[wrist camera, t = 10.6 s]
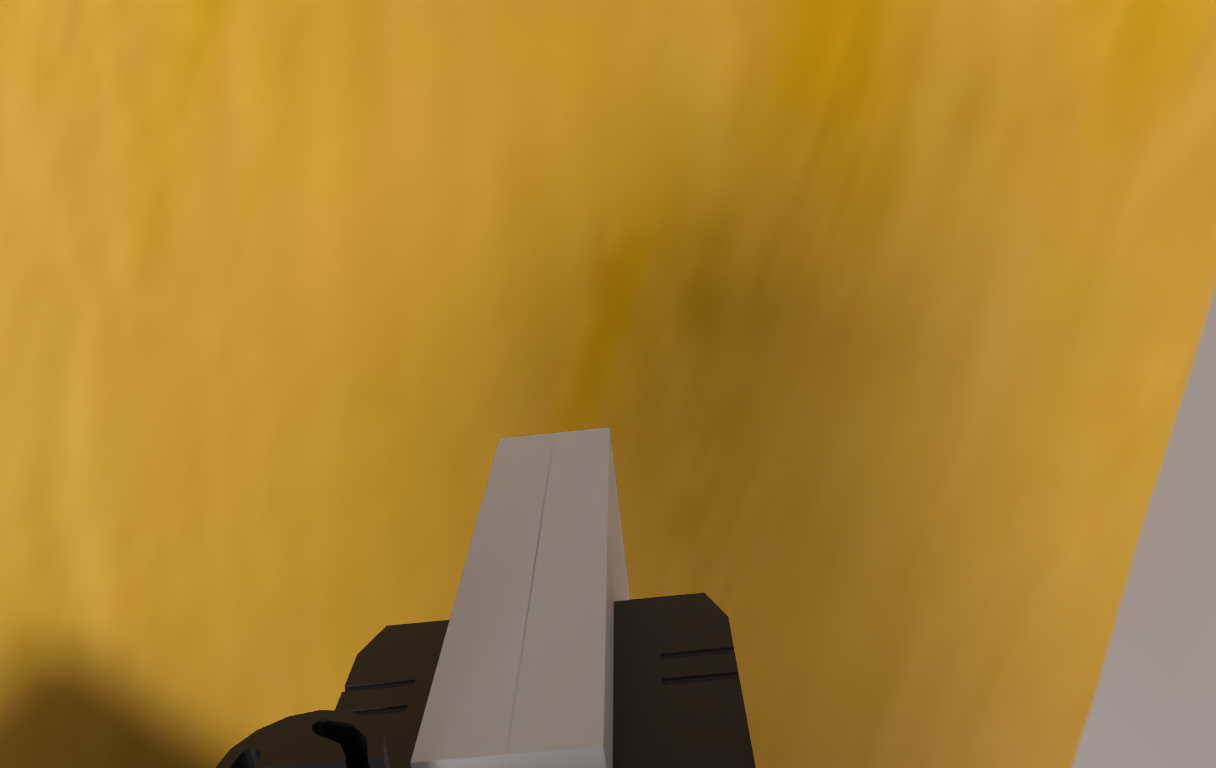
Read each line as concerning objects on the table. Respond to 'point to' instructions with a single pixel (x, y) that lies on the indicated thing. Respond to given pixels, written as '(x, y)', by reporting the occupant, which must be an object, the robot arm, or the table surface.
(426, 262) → the table surface
